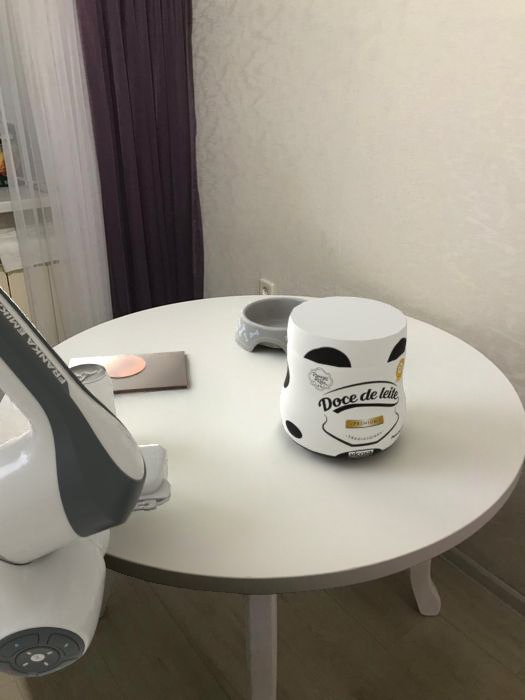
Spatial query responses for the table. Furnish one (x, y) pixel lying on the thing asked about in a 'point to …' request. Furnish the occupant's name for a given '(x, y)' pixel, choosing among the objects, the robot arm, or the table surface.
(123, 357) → the placemat
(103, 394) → the can
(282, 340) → the dog bowl
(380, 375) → the milk container
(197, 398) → the table surface
